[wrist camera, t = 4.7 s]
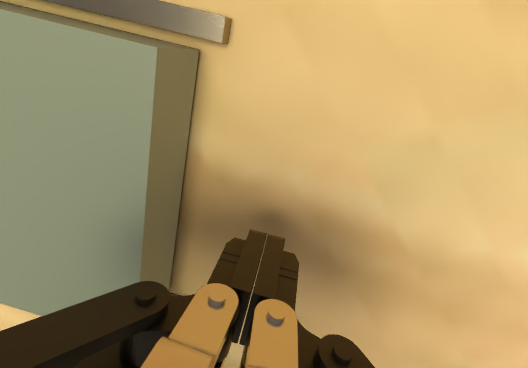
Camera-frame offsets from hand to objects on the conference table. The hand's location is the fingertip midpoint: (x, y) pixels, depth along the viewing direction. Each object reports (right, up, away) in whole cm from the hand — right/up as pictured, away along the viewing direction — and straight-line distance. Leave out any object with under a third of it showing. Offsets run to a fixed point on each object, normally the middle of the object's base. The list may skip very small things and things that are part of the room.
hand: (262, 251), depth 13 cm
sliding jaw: (-10, +4, +4) cm, 11 cm away
